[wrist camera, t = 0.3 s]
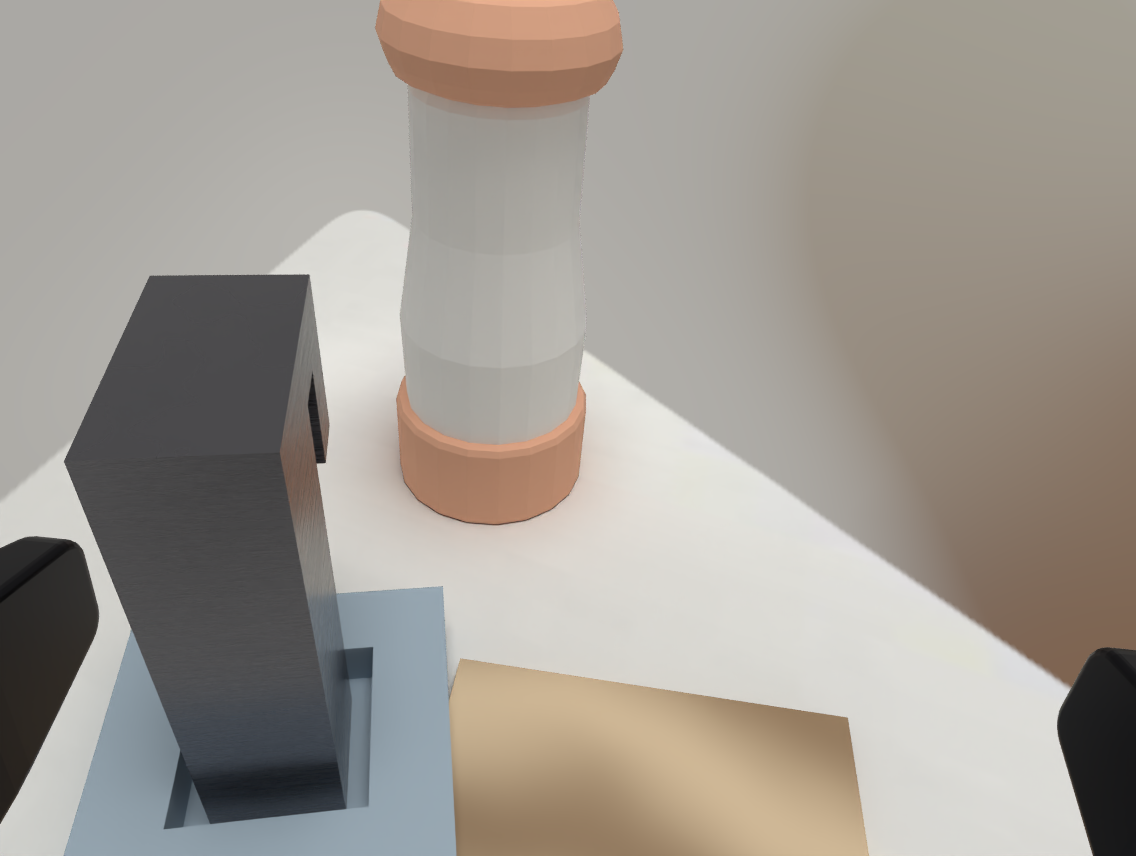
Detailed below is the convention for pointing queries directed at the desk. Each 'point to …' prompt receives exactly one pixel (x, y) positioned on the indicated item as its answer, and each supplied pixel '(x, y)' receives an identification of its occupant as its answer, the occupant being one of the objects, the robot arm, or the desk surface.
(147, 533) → the grey hook block
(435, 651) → the square socket block
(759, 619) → the desk surface
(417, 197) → the salt shaker
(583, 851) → the tan metal pad
